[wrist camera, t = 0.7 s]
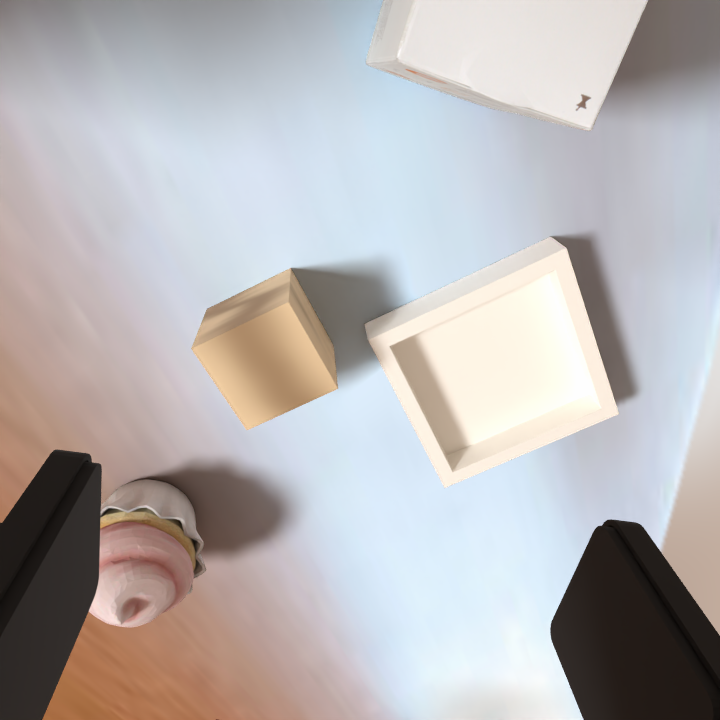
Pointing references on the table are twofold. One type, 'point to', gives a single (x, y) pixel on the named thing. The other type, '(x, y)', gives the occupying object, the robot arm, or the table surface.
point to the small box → (510, 52)
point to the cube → (267, 350)
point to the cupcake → (145, 553)
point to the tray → (496, 362)
